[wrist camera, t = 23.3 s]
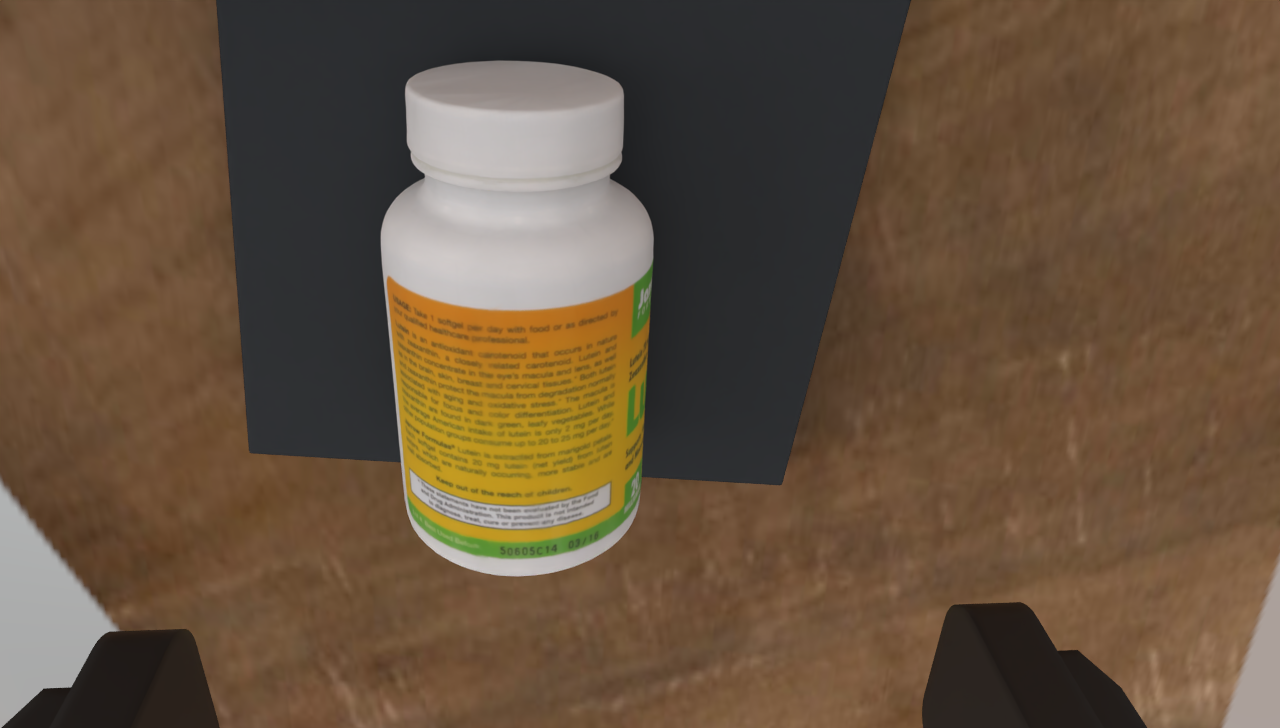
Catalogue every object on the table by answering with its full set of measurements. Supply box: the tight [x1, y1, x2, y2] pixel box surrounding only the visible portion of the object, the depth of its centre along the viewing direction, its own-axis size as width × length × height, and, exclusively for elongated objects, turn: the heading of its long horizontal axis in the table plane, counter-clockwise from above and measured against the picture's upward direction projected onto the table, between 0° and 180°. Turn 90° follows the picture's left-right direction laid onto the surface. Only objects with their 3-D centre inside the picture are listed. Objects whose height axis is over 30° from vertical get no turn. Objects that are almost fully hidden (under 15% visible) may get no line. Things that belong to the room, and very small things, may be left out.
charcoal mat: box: [216, 0, 911, 485], centre depth 22 cm, size 14×14×1 cm
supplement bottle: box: [381, 61, 654, 576], centre depth 20 cm, size 5×5×10 cm
